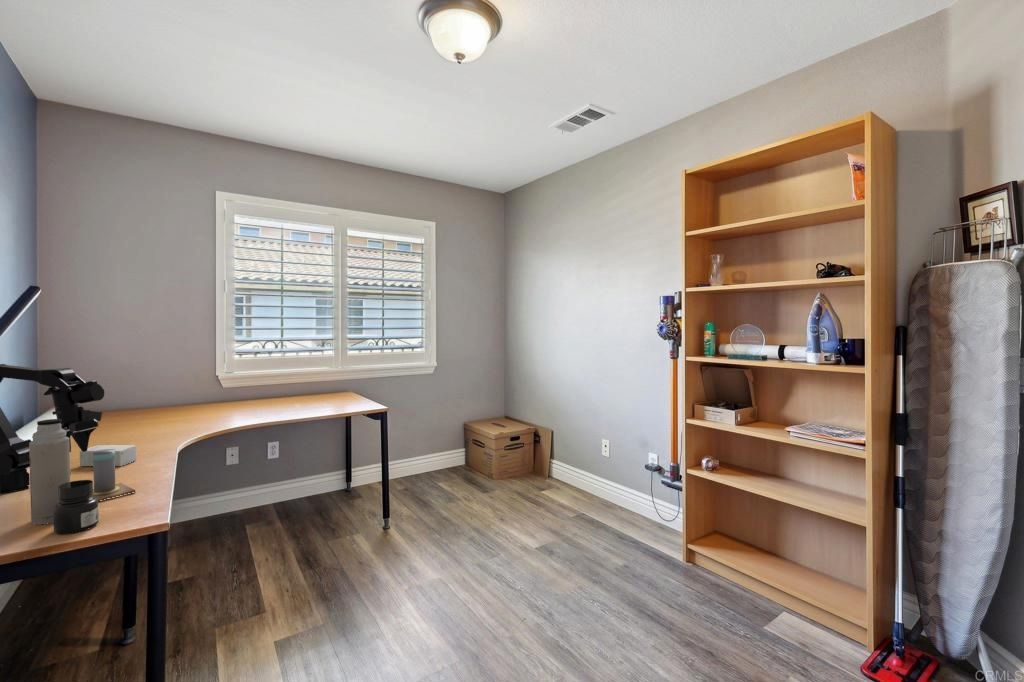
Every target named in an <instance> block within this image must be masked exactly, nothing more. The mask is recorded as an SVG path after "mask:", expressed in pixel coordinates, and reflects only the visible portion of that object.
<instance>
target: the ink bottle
mask: <svg viewBox="0 0 1024 682" xmlns="http://www.w3.org/2000/svg"><path fill="white" fill-rule="evenodd" d="M93 489H94V480H91V479H80V480H73V481H70V482H68V483H65V484H62V485H60V486H59V487H58V498H59V501H60V502H59V503H58V504H57V505H56V506H55V507H54V509H53V520H54V523H53V532H54V533H55V534H56V535H68V534H69V535H70V534H75V532H76V533H79V531H80V532H84V531H87V530H89V529H88V528H90V529H92V528H94V527H95V526H97V525H98V524H99V518H100V517H99V502H98V500H97V499H96V498H94V497H93V496H92V494H93ZM97 523H98V524H97ZM96 524H97V525H96ZM93 526H94V527H93ZM91 527H92V528H91ZM86 529H87V530H86ZM83 530H84V531H83Z"/></svg>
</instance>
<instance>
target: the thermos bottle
mask: <svg viewBox="0 0 1024 682" xmlns="http://www.w3.org/2000/svg"><path fill="white" fill-rule="evenodd" d="M61 422H62V419H57V418H50V419H48V418H47V419H42V420H38V421H36V425H37V426H36V431H35V432H33V433H32V436H31V439H32V440H31V442H30V443H29V456H30V467H29V479H30V485H29V488H30V489H29V492H30V523H31V524H32V523H33V524H44V525H48V524H47V523H51V524H54V520H53V509H54V507H55V506H56V505H57V504H58V503H59V502H60V501H59V498H58V487H59V486H60V485H62V484H65V483H68V482H71V458H70V457H71V454H70V453H71V452H70V445H69V438H68V437H66V435H67V434H66V433H67V432H66V431H65V430H63V429H62V428H61ZM33 524H32V525H33Z"/></svg>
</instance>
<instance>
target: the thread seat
mask: <svg viewBox="0 0 1024 682" xmlns="http://www.w3.org/2000/svg"><path fill="white" fill-rule="evenodd" d="M132 492H135V493H136V489H134V488H132V487H130V486H128V485H126V484H125V483H122V482H118V483H115V489H114V490H112V491H108V492H103V493H95V492H94V488H93V494H92V496H93V497H94V498H96V499H97V500H98V501H100V500H104V499H107V498H112V497H116V496H120V495H124V494H128V493H132Z"/></svg>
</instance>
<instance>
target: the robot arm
mask: <svg viewBox="0 0 1024 682" xmlns="http://www.w3.org/2000/svg"><path fill="white" fill-rule="evenodd" d="M4 379H14V380H21V381H31V382H35V383H38V384H40V385H42V386H47V387H48V388H47V390H46V391H44V393H43V395H44V396H50V395H51V397H52V403H53V407H54V411H52V415H55V416H56V419H62V422H61V428H62V429H63V430H65V431H66V432H67V433H66V434H67V435H66V437H68V438H69V445H70V453H71V452H72V443H71V437H72V439H73V441H74V442H75V443H76V445H77V446H78V448H79V449H80V451H81V450H82V452H85V451H87V448H89V441H90V437H91V434H92V433H93V432H94V431H95V430H97V427H100V426H99V422H102V417H103V411H94V410H90V409H85V408H84V407H83V406H79V404H86V403H93V402H98V401H102V400H103V399H104V396H105V389H104V388H103V386H101V385H100V384H99V383H98V381H97V380H89V381H87V382H86V381H85V380H83V378H81V377H80V376H79V375H78V374H76V372H75V371H74V369H72V368H70V367H58V368H56V367H55V368H39V367H38V368H37V367H28V366H27V367H26V366H18V365H12V364H11V365H9V364H5V363H0V384H1V383H2V382H3V380H4ZM31 441H32V439H26V440H25V439H22V438H21V437H19V435H18V434H17V432H16V431H15V429H14V427H13V425H12V424H11V422H10V421H9V419H8V418H7V416H6V414H5V412H4V411H3V409H2V408H1V407H0V495H3V494H2V493H4V494H7V492H8V493H13V492H18V491H21V490H27V489H29V488H30V472H28V468H30V456H29V443H30V442H31Z"/></svg>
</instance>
